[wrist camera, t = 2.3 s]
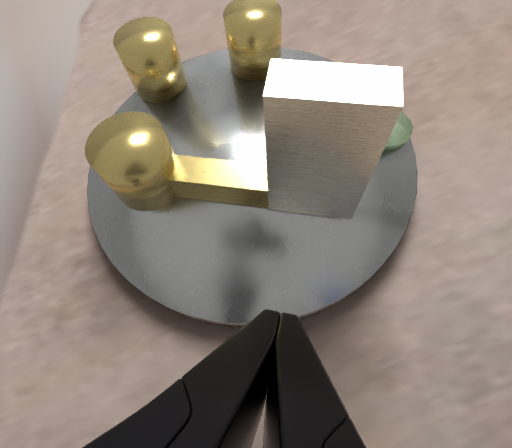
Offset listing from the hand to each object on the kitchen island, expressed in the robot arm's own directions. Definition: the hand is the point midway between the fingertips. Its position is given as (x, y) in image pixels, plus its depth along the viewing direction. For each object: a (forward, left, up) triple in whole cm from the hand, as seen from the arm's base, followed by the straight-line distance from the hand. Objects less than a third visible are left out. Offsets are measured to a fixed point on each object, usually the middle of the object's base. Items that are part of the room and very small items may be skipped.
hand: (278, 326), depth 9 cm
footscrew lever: (+9, +4, -9) cm, 14 cm away
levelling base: (+12, +4, -11) cm, 17 cm away
